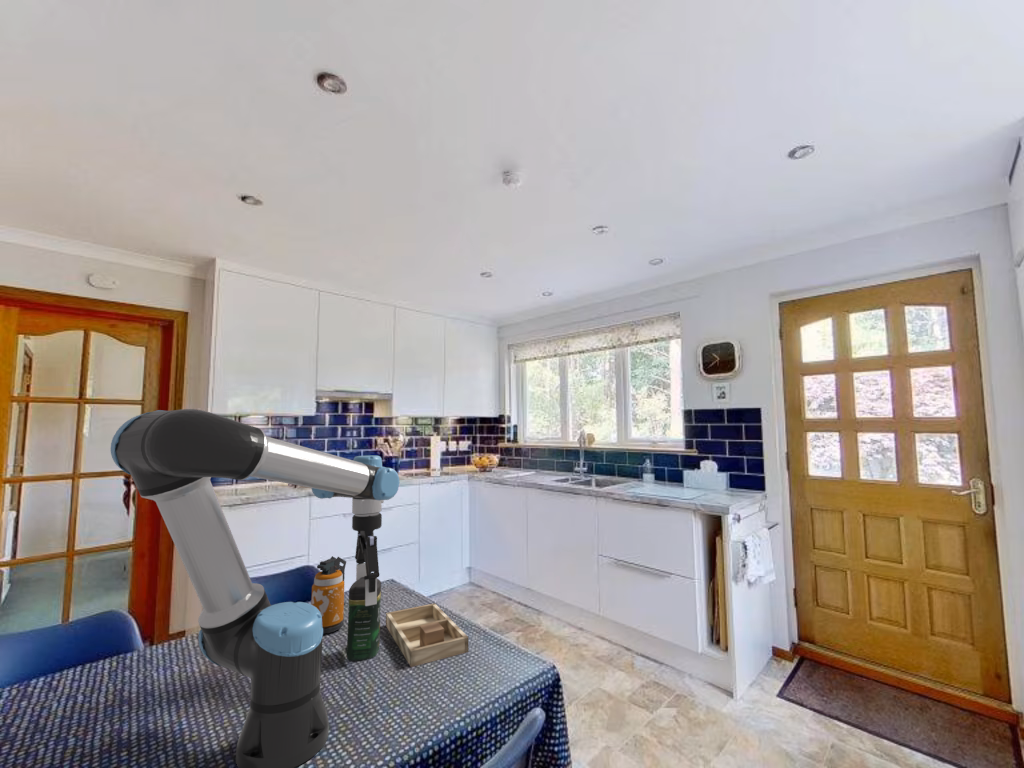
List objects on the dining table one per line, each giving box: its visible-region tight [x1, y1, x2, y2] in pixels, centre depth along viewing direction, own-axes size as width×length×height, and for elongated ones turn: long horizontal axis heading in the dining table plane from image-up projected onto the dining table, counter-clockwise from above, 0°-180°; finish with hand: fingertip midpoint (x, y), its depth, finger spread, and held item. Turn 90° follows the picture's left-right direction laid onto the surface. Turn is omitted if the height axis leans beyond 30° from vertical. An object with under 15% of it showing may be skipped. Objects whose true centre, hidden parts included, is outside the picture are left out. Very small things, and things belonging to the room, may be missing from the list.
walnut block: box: [420, 622, 444, 647], centre depth 116 cm, size 5×5×5 cm
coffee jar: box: [346, 577, 382, 662], centre depth 116 cm, size 10×8×19 cm
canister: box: [310, 556, 347, 635], centre depth 132 cm, size 9×11×20 cm
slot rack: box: [385, 603, 469, 668], centre depth 122 cm, size 27×15×4 cm, turn 28°
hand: (365, 596), depth 116 cm, fingers open, 13 cm apart
